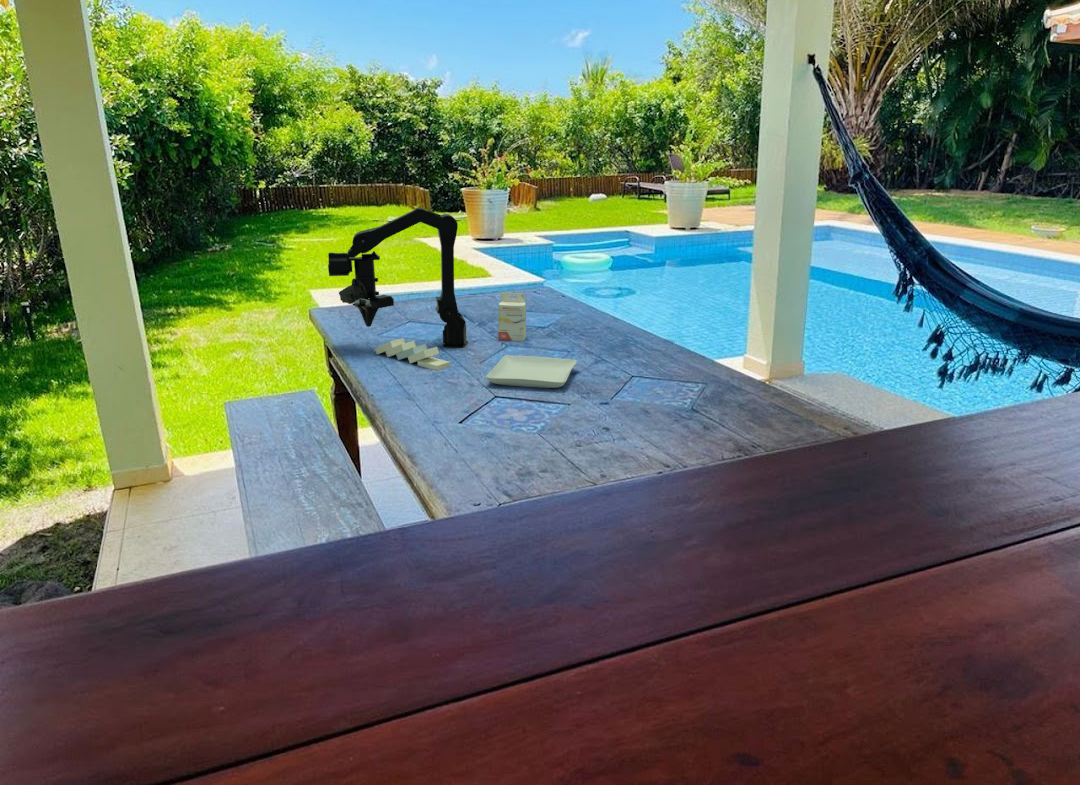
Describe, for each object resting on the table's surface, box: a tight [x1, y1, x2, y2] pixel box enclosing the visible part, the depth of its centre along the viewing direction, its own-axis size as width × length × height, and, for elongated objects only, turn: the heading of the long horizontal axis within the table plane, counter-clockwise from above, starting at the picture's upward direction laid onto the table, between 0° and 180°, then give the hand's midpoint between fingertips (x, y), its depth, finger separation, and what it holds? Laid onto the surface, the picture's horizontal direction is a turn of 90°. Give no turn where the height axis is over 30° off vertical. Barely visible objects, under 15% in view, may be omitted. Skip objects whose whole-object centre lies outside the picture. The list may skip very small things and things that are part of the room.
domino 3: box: [395, 343, 428, 361], centre depth 223 cm, size 2×5×8 cm
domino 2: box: [385, 340, 417, 358], centre depth 226 cm, size 2×5×8 cm
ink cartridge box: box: [497, 292, 527, 342], centre depth 245 cm, size 9×5×15 cm, turn 84°
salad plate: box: [485, 354, 578, 389], centre depth 207 cm, size 21×21×3 cm
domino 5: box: [417, 356, 451, 371], centre depth 218 cm, size 2×5×8 cm
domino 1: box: [374, 337, 406, 355], centre depth 229 cm, size 2×5×8 cm
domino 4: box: [407, 346, 440, 364], centre depth 219 cm, size 2×5×8 cm
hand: (368, 326), depth 233 cm, fingers closed
